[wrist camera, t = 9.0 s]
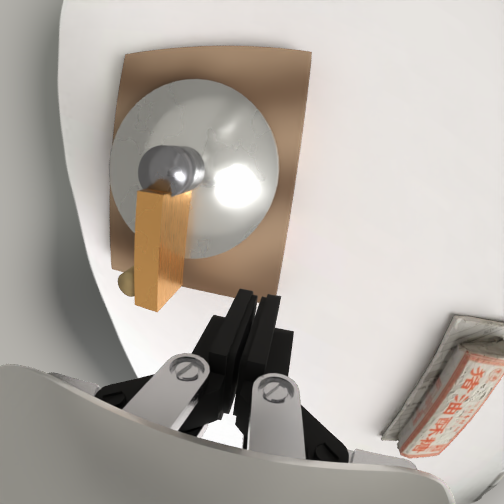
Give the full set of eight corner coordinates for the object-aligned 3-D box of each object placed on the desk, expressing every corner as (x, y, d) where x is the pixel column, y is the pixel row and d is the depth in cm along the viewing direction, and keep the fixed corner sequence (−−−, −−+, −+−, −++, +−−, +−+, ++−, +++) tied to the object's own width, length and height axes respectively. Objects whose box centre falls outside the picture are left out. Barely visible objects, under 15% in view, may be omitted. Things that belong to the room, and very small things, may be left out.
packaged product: (449, 458, 21) (383, 464, 23) (441, 432, 26) (379, 433, 27) (535, 344, 15) (473, 340, 17) (514, 320, 20) (451, 310, 21)
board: (138, 60, 19) (85, 38, 12) (311, 61, 17) (312, 19, 10) (123, 260, 25) (75, 293, 18) (276, 293, 23) (263, 345, 16)
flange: (130, 83, 17) (85, 70, 12) (294, 93, 16) (290, 69, 11) (115, 257, 22) (75, 282, 17) (256, 295, 21) (241, 336, 16)
